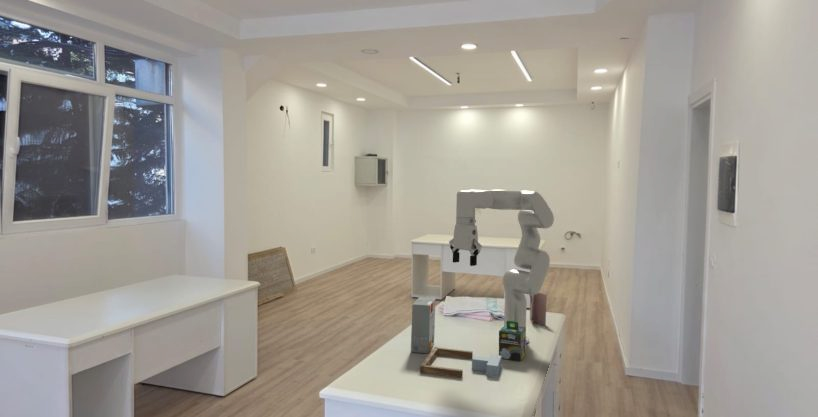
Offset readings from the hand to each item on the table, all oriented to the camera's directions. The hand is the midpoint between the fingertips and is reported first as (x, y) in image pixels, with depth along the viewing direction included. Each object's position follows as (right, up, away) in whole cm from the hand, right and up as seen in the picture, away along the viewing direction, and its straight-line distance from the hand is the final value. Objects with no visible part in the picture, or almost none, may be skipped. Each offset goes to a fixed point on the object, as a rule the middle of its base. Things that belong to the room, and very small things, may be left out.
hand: (464, 263), depth 212 cm
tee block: (+7, -38, -14) cm, 41 cm away
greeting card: (+42, -35, +53) cm, 76 cm away
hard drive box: (-16, -37, +11) cm, 42 cm away
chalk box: (+19, -38, +1) cm, 43 cm away
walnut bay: (-7, -38, -10) cm, 40 cm away
